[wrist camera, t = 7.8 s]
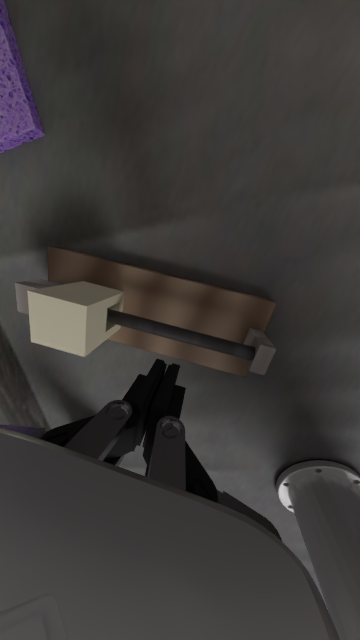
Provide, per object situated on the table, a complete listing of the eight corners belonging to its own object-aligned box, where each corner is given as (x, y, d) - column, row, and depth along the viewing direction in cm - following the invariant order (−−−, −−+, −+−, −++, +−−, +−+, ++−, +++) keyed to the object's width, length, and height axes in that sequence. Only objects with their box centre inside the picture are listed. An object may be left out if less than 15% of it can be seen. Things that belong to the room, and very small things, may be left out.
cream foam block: (124, 291, 20) (87, 306, 14) (120, 328, 22) (84, 356, 15) (83, 281, 20) (27, 290, 14) (82, 318, 22) (31, 341, 16)
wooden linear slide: (272, 299, 21) (299, 316, 15) (243, 370, 24) (255, 407, 18) (57, 246, 22) (1, 241, 16) (58, 320, 26) (12, 338, 20)
